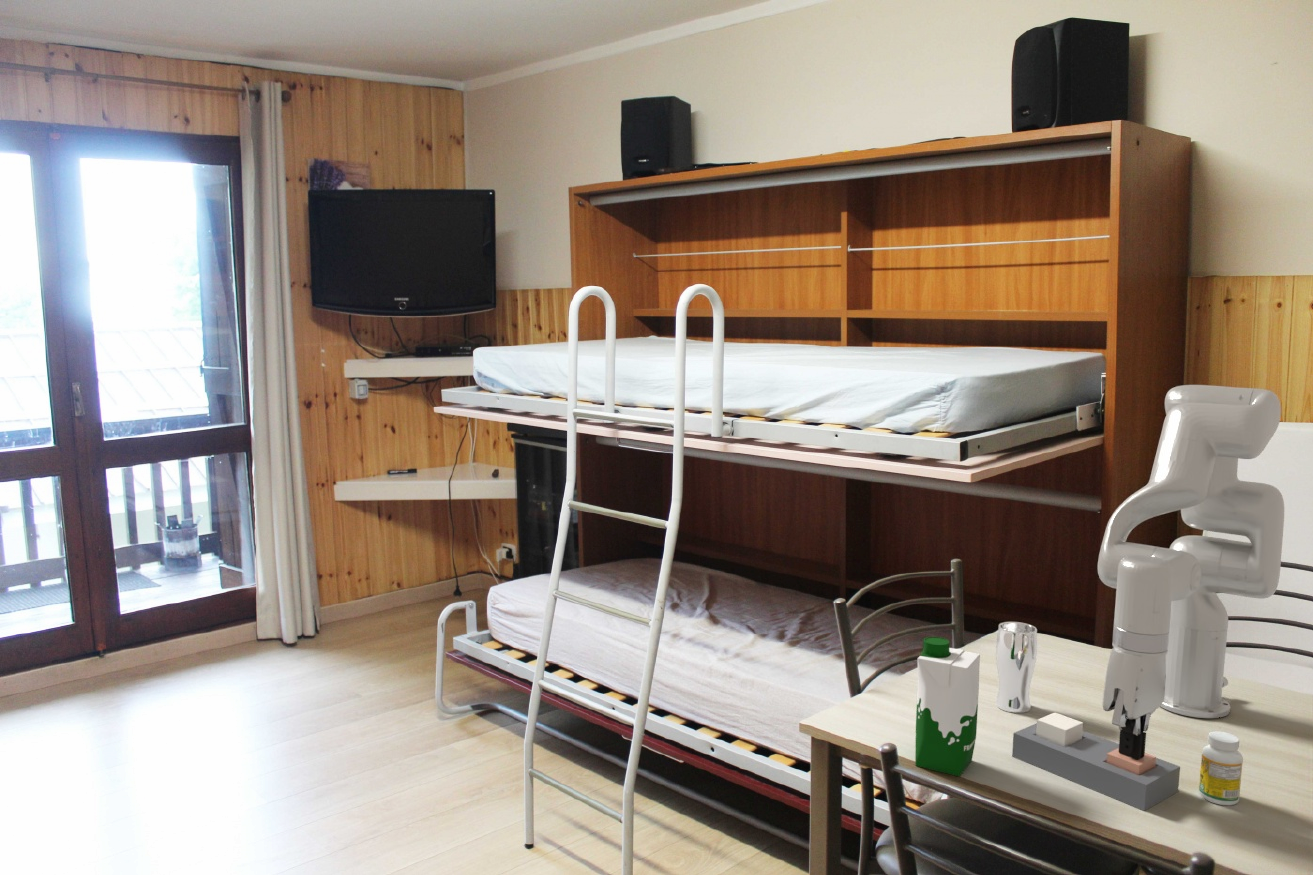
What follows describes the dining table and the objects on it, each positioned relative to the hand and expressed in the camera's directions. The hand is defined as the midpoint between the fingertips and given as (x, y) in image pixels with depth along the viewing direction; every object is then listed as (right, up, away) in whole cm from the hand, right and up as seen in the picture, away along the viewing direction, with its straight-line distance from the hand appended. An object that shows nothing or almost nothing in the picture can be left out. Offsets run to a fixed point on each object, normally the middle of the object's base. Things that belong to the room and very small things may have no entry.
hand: (1131, 755), depth 156 cm
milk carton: (-26, -4, +9) cm, 28 cm away
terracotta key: (0, -3, +1) cm, 4 cm away
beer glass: (-7, -1, +32) cm, 32 cm away
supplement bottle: (+12, -6, -2) cm, 14 cm away
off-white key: (-7, -1, +10) cm, 12 cm away
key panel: (-4, -5, +6) cm, 8 cm away
